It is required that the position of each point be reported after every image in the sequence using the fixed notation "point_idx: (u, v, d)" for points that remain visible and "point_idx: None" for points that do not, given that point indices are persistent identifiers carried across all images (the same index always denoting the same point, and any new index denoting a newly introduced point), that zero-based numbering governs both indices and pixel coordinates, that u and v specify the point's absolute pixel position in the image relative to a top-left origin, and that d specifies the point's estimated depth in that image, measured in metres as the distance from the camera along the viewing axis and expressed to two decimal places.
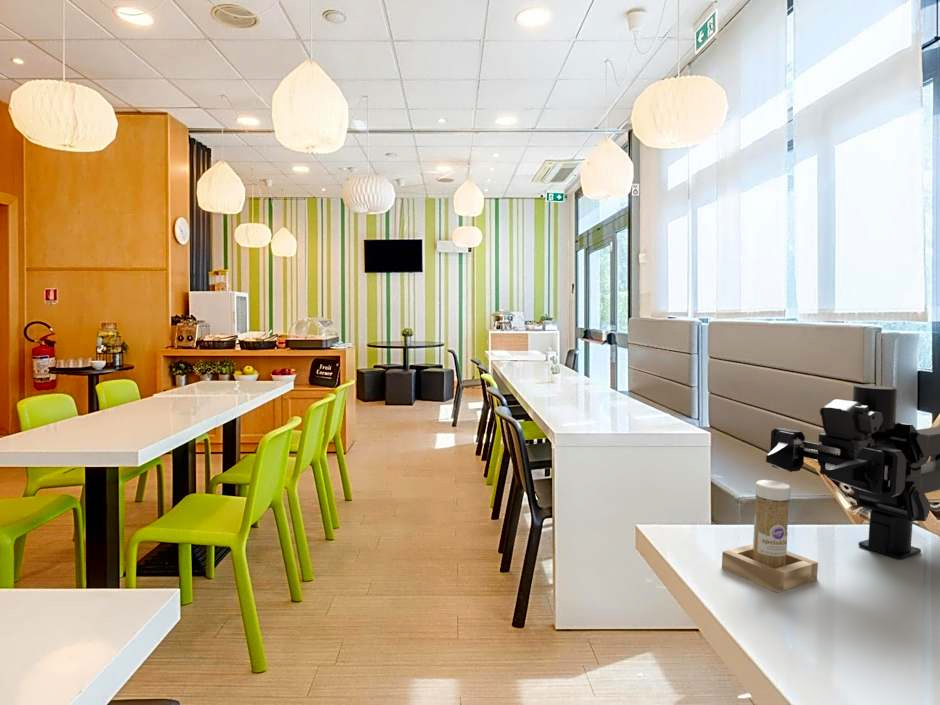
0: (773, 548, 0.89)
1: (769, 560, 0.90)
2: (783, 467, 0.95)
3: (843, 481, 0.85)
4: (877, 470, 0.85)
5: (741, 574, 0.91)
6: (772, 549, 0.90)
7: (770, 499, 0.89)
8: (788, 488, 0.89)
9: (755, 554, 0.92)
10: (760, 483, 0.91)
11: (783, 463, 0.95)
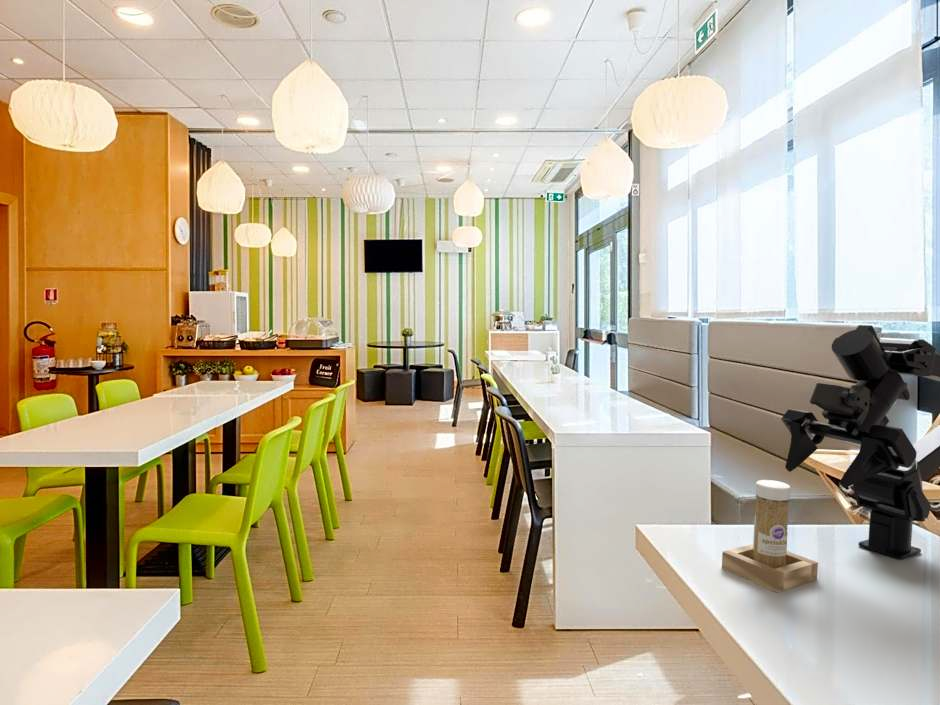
0: (773, 548, 0.89)
1: (769, 560, 0.90)
2: (806, 457, 1.00)
3: (858, 480, 0.90)
4: (884, 454, 0.88)
5: (741, 574, 0.91)
6: (772, 549, 0.90)
7: (771, 499, 0.89)
8: (788, 488, 0.89)
9: (755, 554, 0.92)
10: (760, 483, 0.91)
11: (805, 454, 1.00)
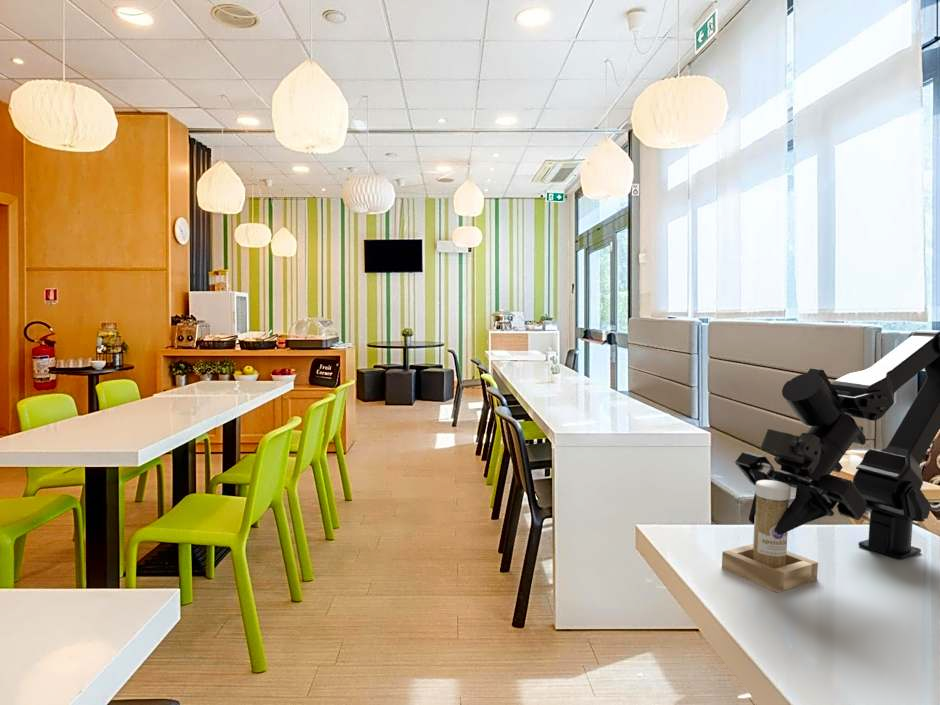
0: (773, 548, 0.89)
1: (769, 560, 0.90)
2: None
3: (794, 527, 0.89)
4: (818, 501, 0.87)
5: (741, 574, 0.91)
6: (772, 549, 0.90)
7: (770, 499, 0.89)
8: (788, 488, 0.89)
9: (755, 554, 0.92)
10: (760, 483, 0.91)
11: None
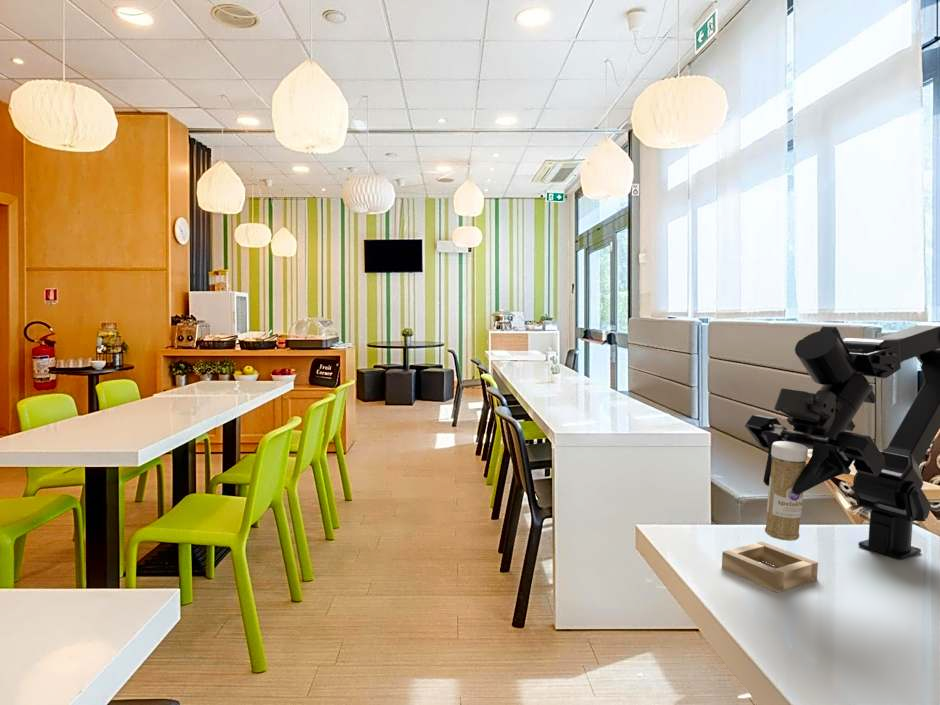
0: (789, 510, 0.88)
1: (784, 522, 0.88)
2: None
3: (811, 487, 0.87)
4: (835, 459, 0.86)
5: (741, 574, 0.91)
6: (788, 511, 0.88)
7: (788, 460, 0.87)
8: (806, 449, 0.87)
9: (769, 516, 0.90)
10: (777, 444, 0.89)
11: None
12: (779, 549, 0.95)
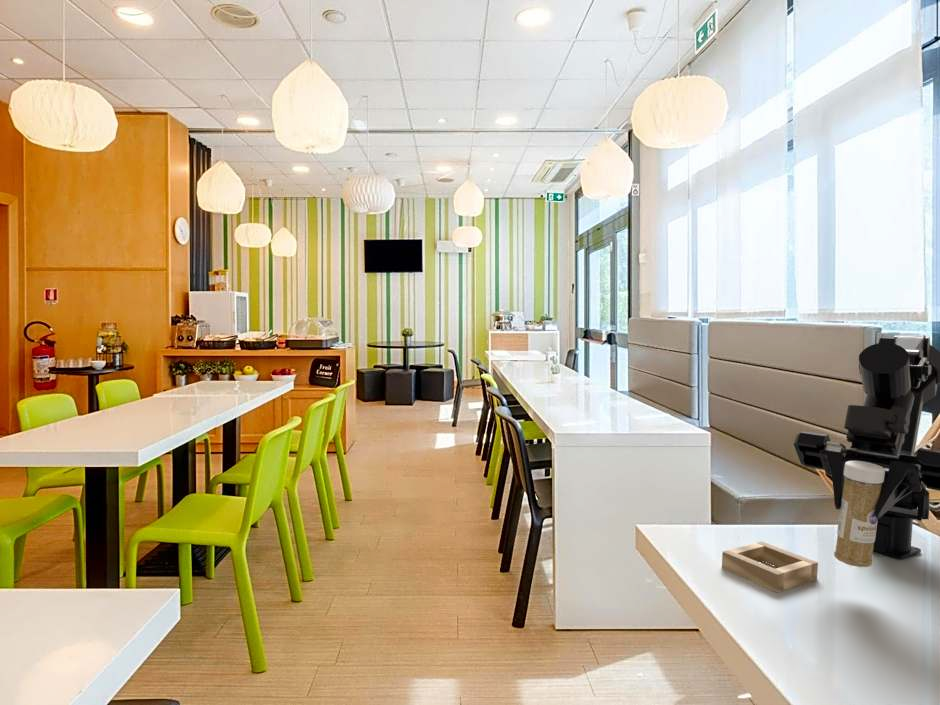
0: (869, 535, 0.83)
1: (864, 548, 0.83)
2: None
3: (889, 508, 0.83)
4: (912, 478, 0.82)
5: (741, 574, 0.91)
6: (868, 536, 0.83)
7: (871, 483, 0.82)
8: (884, 469, 0.83)
9: (845, 542, 0.84)
10: (855, 466, 0.83)
11: None
12: (779, 549, 0.95)
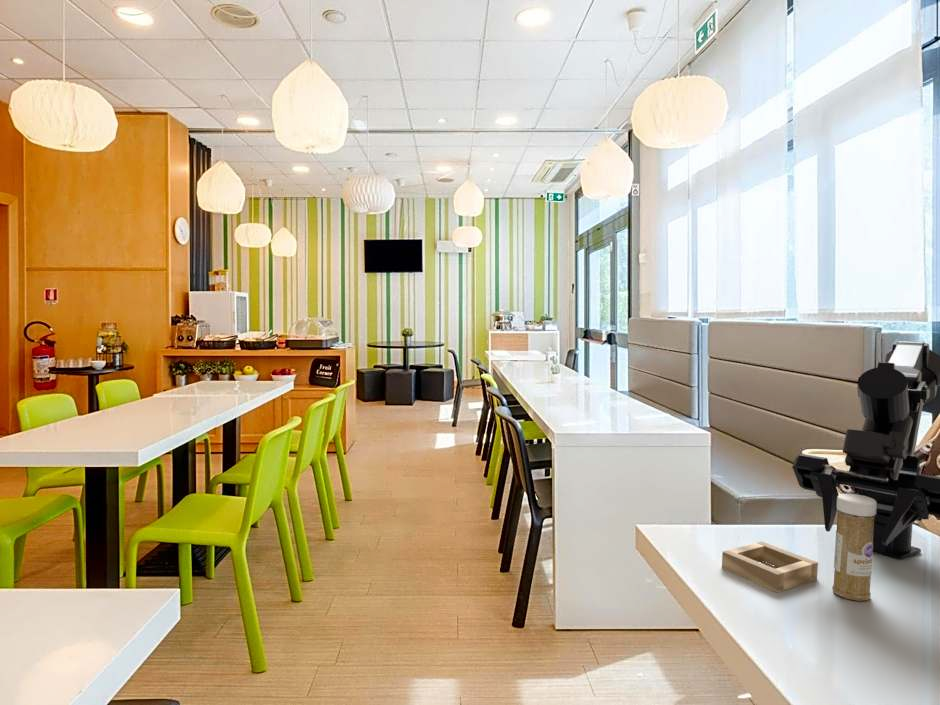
0: (865, 568, 0.83)
1: (861, 581, 0.83)
2: None
3: (896, 535, 0.82)
4: (920, 505, 0.82)
5: (741, 574, 0.91)
6: (864, 569, 0.83)
7: (864, 516, 0.82)
8: None
9: (842, 576, 0.84)
10: (847, 499, 0.84)
11: (835, 508, 0.89)
12: (779, 549, 0.95)
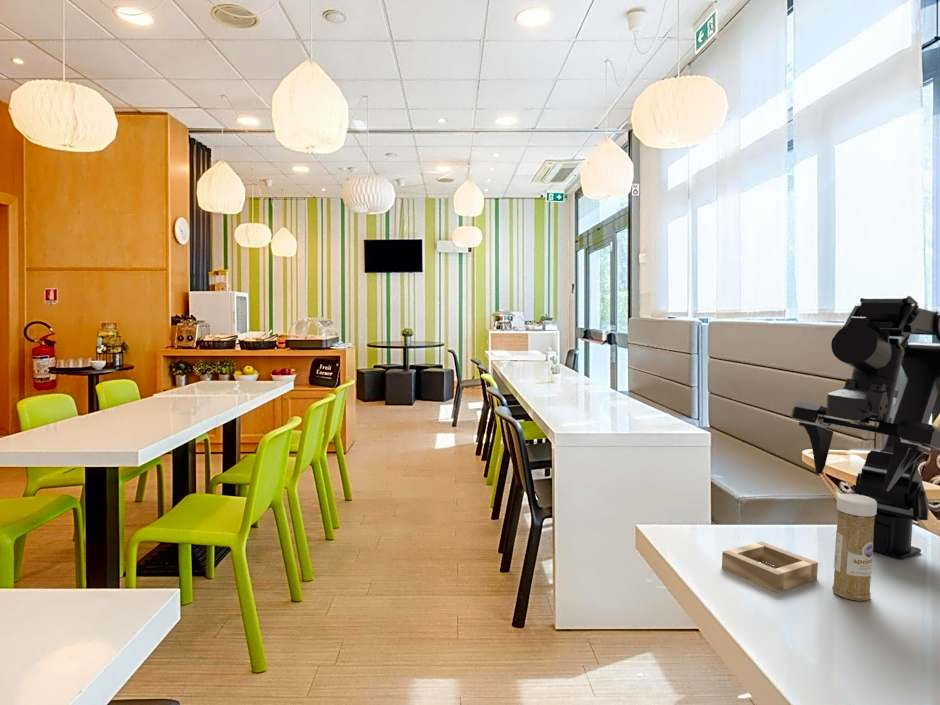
0: (865, 568, 0.83)
1: (861, 581, 0.83)
2: (828, 448, 0.97)
3: (898, 478, 0.89)
4: (917, 450, 0.86)
5: (741, 574, 0.91)
6: (864, 569, 0.83)
7: (864, 516, 0.82)
8: None
9: (842, 576, 0.84)
10: (847, 499, 0.84)
11: (827, 447, 0.97)
12: (779, 549, 0.95)
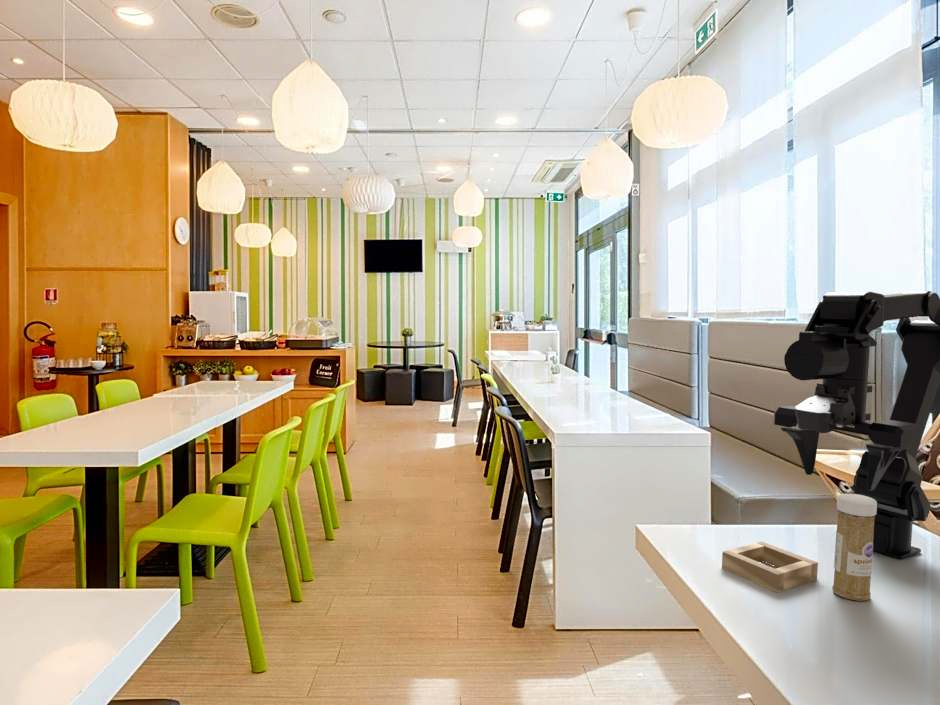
0: (865, 568, 0.83)
1: (861, 581, 0.83)
2: (816, 446, 0.98)
3: (882, 475, 0.89)
4: None
5: (741, 574, 0.91)
6: (864, 569, 0.83)
7: (864, 516, 0.82)
8: None
9: (842, 576, 0.84)
10: (847, 499, 0.84)
11: (814, 446, 0.98)
12: (779, 549, 0.95)
